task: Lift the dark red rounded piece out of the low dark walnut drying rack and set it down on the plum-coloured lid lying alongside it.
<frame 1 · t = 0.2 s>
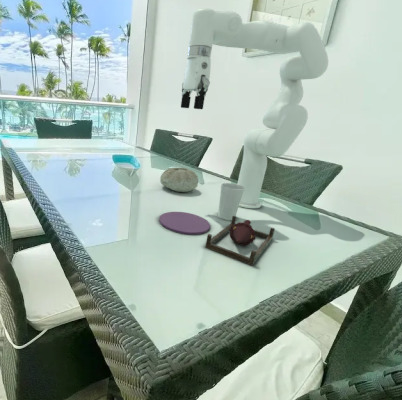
hand: (191, 108, 96), 37 cm above the table, tool pointing down, fingers open, 9 cm apart
lid: (184, 223, 93), on the table
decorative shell: (177, 189, 131), on the table
rack: (240, 243, 82), on the table
dark red rounded piece: (239, 243, 82), on the table
cup: (226, 217, 102), on the table
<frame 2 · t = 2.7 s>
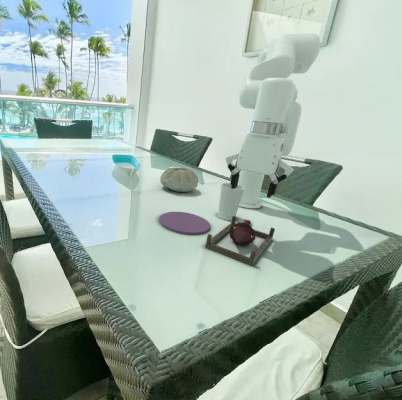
hand: (250, 192, 77), 16 cm above the table, tool pointing down, fingers open, 9 cm apart
nothing on the table moved.
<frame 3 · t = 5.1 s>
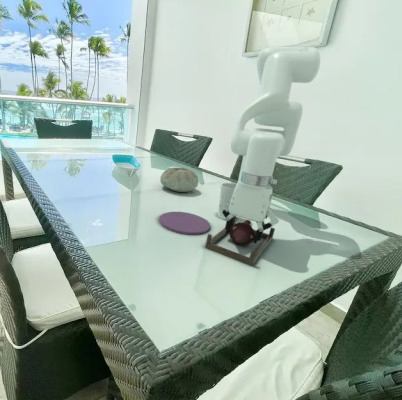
hand: (241, 236, 81), 2 cm above the table, tool pointing down, fingers closed on dark red rounded piece, 7 cm apart
dark red rounded piece: (239, 244, 82), on the table, touching gripper
everything else where it was.
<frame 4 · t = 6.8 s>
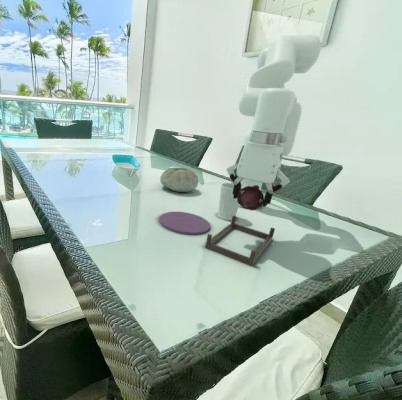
hand: (250, 200, 78), 13 cm above the table, tool pointing down, fingers closed on dark red rounded piece, 7 cm apart
dark red rounded piece: (247, 209, 79), point 11 cm above the table, touching gripper
everything else where it was.
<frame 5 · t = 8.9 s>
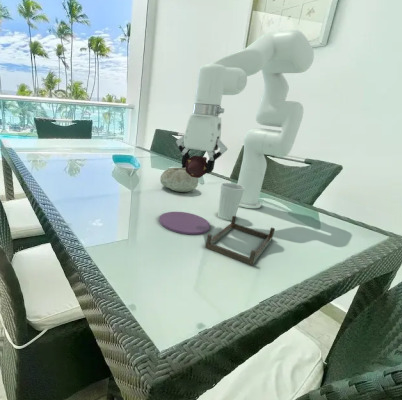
hand: (196, 169, 86), 19 cm above the table, tool pointing down, fingers closed on dark red rounded piece, 7 cm apart
dark red rounded piece: (195, 177, 87), point 17 cm above the table, touching gripper
everything else where it was.
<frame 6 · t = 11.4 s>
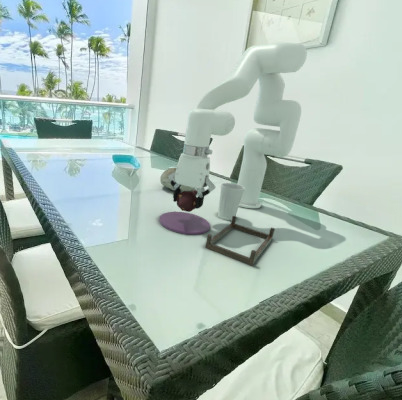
hand: (187, 203, 91), 7 cm above the table, tool pointing down, fingers closed on dark red rounded piece, 7 cm apart
dark red rounded piece: (185, 210, 91), point 5 cm above the table, touching gripper
everything else where it was.
when the fingers open (3 cm above the table, at t = 13.0 s): dark red rounded piece stays where it is, resting on lid.
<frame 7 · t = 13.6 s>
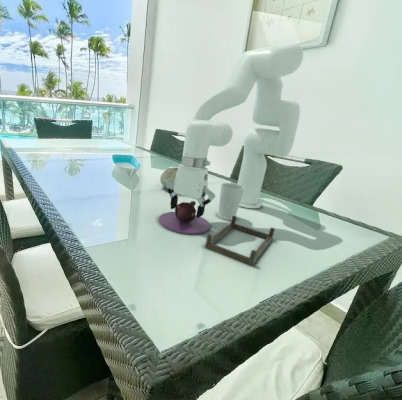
hand: (185, 212, 92), 4 cm above the table, tool pointing down, fingers open, 9 cm apart
lid: (184, 223, 93), on the table, touching dark red rounded piece
dark red rounded piece: (184, 221, 93), point 1 cm above the table, touching lid
everything else where it was.
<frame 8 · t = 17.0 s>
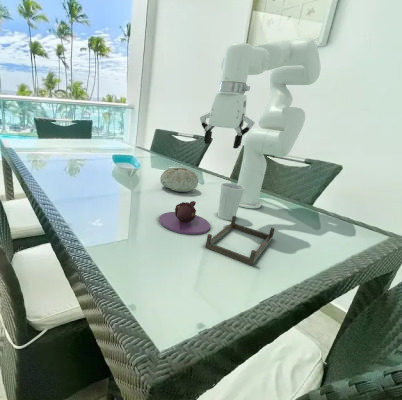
hand: (221, 145, 89), 26 cm above the table, tool pointing down, fingers open, 9 cm apart
nothing on the table moved.
at the end: dark red rounded piece inside the target area on the lid (0.1 cm from its centre), point 0.6 cm above the lid's base; dark red rounded piece touching lid; dark red rounded piece tilted 0° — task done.
